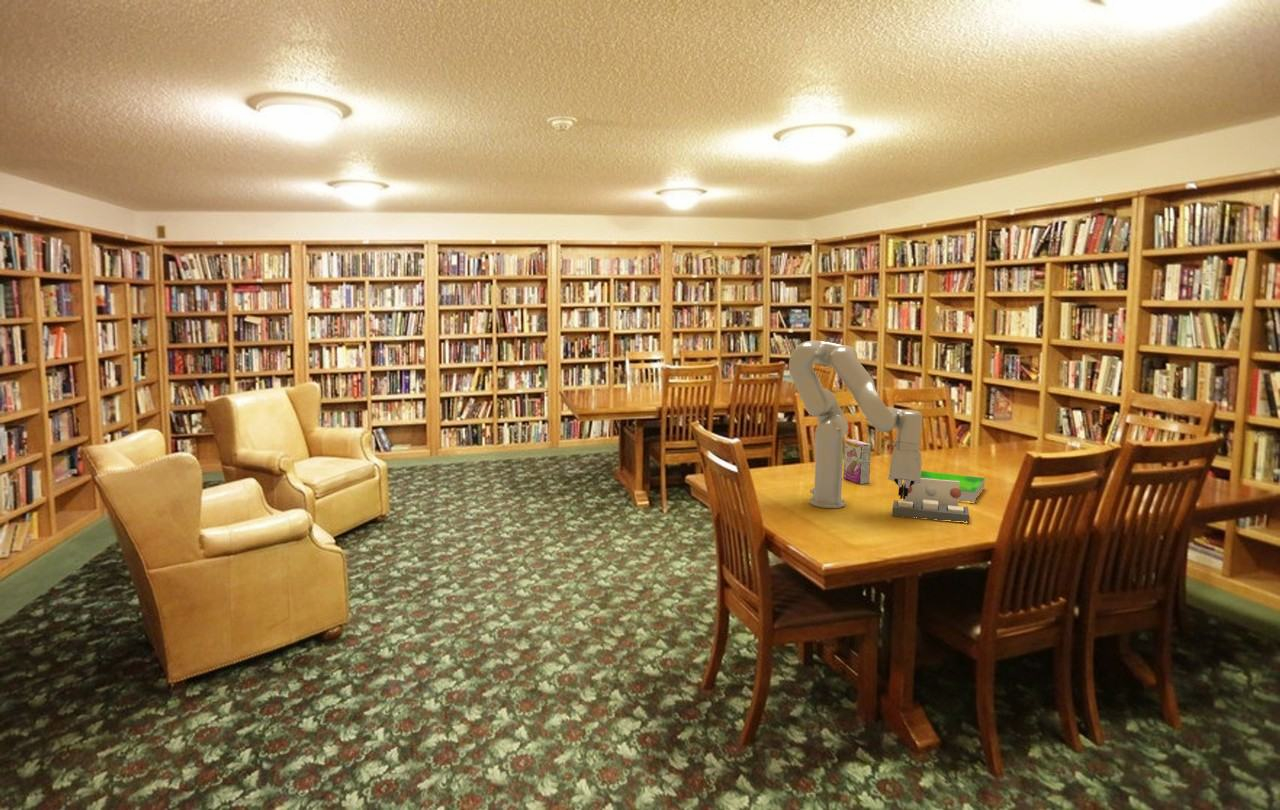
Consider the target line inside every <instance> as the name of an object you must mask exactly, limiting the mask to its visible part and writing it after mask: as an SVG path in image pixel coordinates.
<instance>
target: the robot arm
mask: <svg viewBox="0 0 1280 810" xmlns="http://www.w3.org/2000/svg"><path fill="white" fill-rule="evenodd" d="M788 361H789V362H788V369H789V374H790V377H791V378H792V379H791V380H792V381H793V383H794V385H795V387H796V390H797V393H798V394H799V397H800V399H801V401H802V403H803V406H804V408H805V410H806V412H807V414H809V415H810V416H812V417H814V418H815V417H816V418H817V421H818V423H817V426H815V431H814V444H815V445H814V446H815V454H814V455H815V459H814V461H815V463H814V464H815V466H814V487H813V489H810V490H809V493H810V494H812V497H810V499H809V504H810V505H812V506H814V507H817V508H823V509H840V508H843V507H845V506H846V501H845V500H844V499H842V490H843V489H842V487H843V486H842V485H843V484H842V483H843V467H844V449H843V448H844V447H843V441H844V439H843V438H844V437H846V435H847V434H848V430H849V424H848V420H847V419H846V417H845V416H846V415H845V414H844V411H843V409H842V408H841V405H840V403H839V401H838V399H837V397H836V395H835V394H834V393H833V392H832V391H831V390H830V389H828V388H825V387H824V386H823V385H822V383H821V380H820V378H819V376H818V375H817V373H816V371H815V369H814V365H815V364H818V365H823V366H827V367H828V366H829V367H832V369H833V370H834V372H835V373H836V374H837V376H839V379H840V380H841V381H842V382H843V383H844V385H845V386H846V387H847V388H848V390H849V392H850V393H851V395H852V396H853V398H854V400H855V402H856V403H857V405H858V407H859V408H860V410H861V412H862V413H863V414H864V416H865V417H866V418H867V420H868V421H869V423H870V424H871V425H872V426H873V428H875V430H877V431H879V432H882V433H887V432H890V431H892V430H893V429H897V431H896V440H894V441H891V446H894V448H893V450H892V453H891V458H890V462H889V471H888V472H889V473H888V477H887V479H888V481H893V482H894V483H895V484H896V485H897V486H898V494H897V495H898V496H899V499H901V500H903V499H905V496H907V495H908V488H909V487H910V486H911V485H913V484H918V483H921V478H920V477H921V471H922V462H923V460H922V459H923V458H922V452H921V450H920V445H921V435H922V434H921V433H922V432H921V431H922V424H923V423H922V422H923V413H922V412H920V411H919V410H918V411H917V410H911V409H901V408H895V407H891V406H886V404H885V403H884V401H883V400H882V398H881V397H880V396H879V394H878V392H877V390H876V386H875V382H874V379H873V378H872V376H871V374H870V373H868V371H867V370H866V369H865V367H864V366H863V365H862V363H861V362H860V360H859V359H858V354H857V351H856V349H855V348H854V347H852V346H850V345H845V344H840V343H839V344H838V343H834V342H829V341H823V340H817V339H815V340H813V339H812V340H807V341H803V342H802V343H800V344H799V345H797V346H796V347H795V348H794V349H793V351H792V352H791V354H790V356H789V360H788ZM904 480H907V482H906V484H905V486H903V481H904ZM903 487H904V491H903Z"/></svg>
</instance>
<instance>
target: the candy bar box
mask: <svg viewBox="0 0 1280 810" xmlns="http://www.w3.org/2000/svg"><path fill="white" fill-rule="evenodd" d="M843 448H844V449H843V473H842V479H845V480H847V481H848V482H849V481H850V482H853V483H854V484H855V483H856V484H858V485H867V484H870V475H871V473H870V472H871V451H872V450H871V449H872V444H870V443H868V442H865V441H860V440H857V439H855V438H854V439H845V440H844V447H843Z"/></svg>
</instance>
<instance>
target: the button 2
mask: <svg viewBox="0 0 1280 810" xmlns="http://www.w3.org/2000/svg"><path fill="white" fill-rule="evenodd" d="M963 507H964V506H961V507H960V506H959V505H958V506H949V505H948V511H950V512H961V513H964V509H963Z"/></svg>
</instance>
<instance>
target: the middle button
mask: <svg viewBox="0 0 1280 810" xmlns="http://www.w3.org/2000/svg"><path fill="white" fill-rule="evenodd" d="M923 509H930V510H938V501H933V500H923Z"/></svg>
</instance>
